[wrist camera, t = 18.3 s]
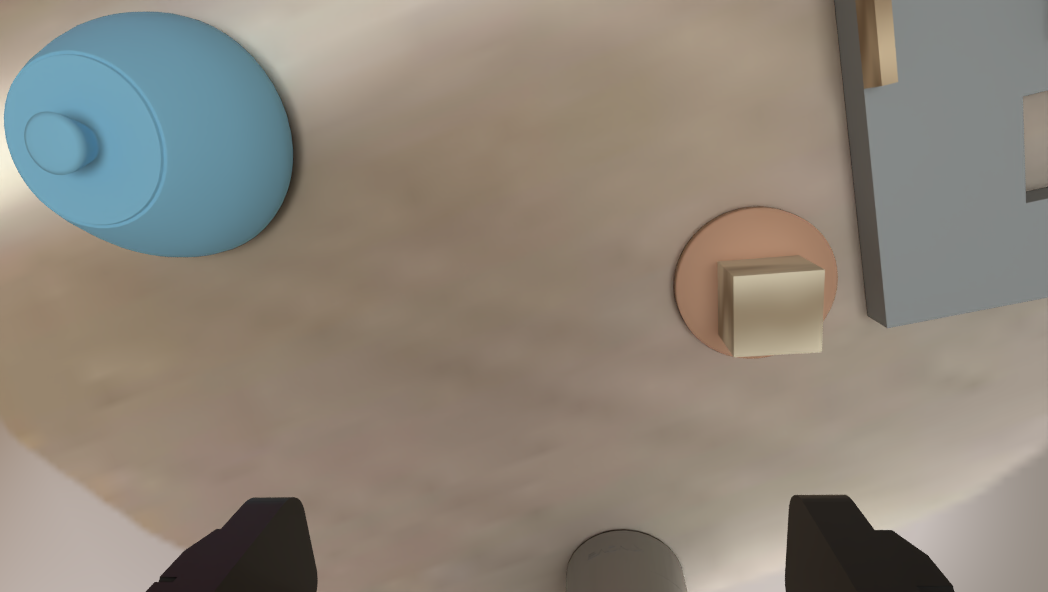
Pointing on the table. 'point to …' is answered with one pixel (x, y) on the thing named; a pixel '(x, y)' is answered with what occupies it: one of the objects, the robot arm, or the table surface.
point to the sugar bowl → (152, 134)
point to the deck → (948, 159)
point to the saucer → (738, 240)
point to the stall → (876, 42)
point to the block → (770, 306)
